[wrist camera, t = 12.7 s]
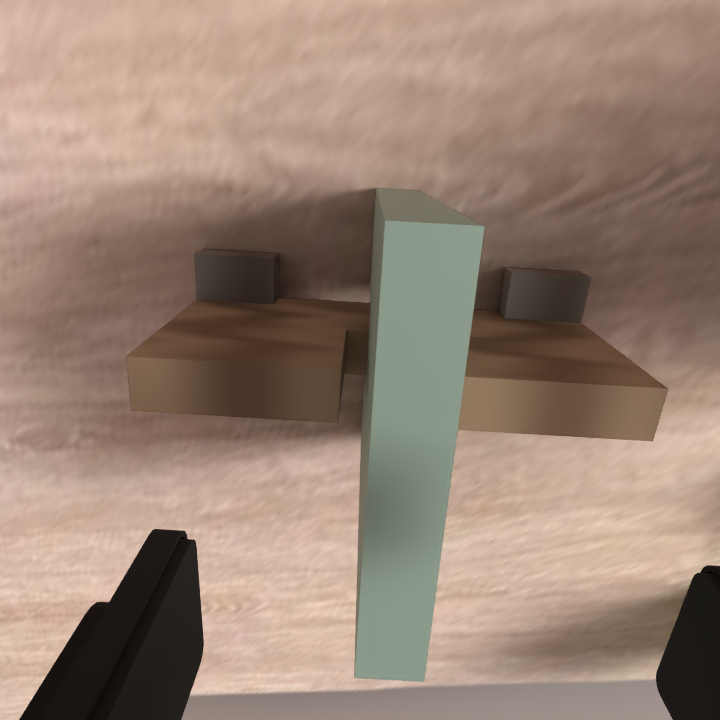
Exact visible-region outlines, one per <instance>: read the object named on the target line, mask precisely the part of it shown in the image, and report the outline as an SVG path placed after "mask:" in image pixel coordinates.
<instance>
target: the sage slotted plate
mask: <svg viewBox="0 0 720 720" xmlns="http://www.w3.org/2000/svg"><path fill="white" fill-rule="evenodd" d="M484 228H485V226H483V225H482V224H480V223H478V222H476V221H474V220H472V219H471V218H469V217H467V216H465V215H463V214H461V213H460V212H458V211H456V210H454V209H452V208H451V207H449V206H447V205H445V204H443V203H441V202H440V201H438V200H436V199H434V198H432V197H430V196H429V195H427V194H425V193H423V192H421V191H419V190H402V189H384V188H376V196H375V212H374V229H373V246H372V262H371V279H370V323H369V340H368V356H367V372H366V375H365V379H364V395H363V412H362V428H361V459H360V494H359V529H358V564H357V600H356V635H355V670H354V678H363V679H382V680H401V681H420V682H424V678H425V671H426V663H427V656H428V648H429V641H430V633H431V626H432V618H433V611H434V603H435V596H436V588H437V581H438V573H439V566H440V558H441V551H442V543H443V536H444V528H445V521H446V513H447V506H448V498H449V491H450V483H451V476H452V468H453V461H454V453H455V445H456V438H457V430H458V423H459V415H460V408H461V400H462V393H463V385H464V378H465V370H466V363H467V355H468V348H469V340H470V333H471V325H472V318H473V310H474V303H475V295H476V288H477V280H478V273H479V265H480V258H481V250H482V243H483V235H484Z"/></svg>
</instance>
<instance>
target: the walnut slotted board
mask: <svg viewBox="0 0 720 720" xmlns="http://www.w3.org/2000/svg"><path fill="white" fill-rule="evenodd" d="M195 270H196V289H197V300H196V301H195V302H194V303H193V304H191V305H190V306H189V307H188V308H186V309H185V310H184V311H183V312H181V313H180V314H179V315H177V316H176V317H175V318H174V319H172V320H171V321H170V322H169V323H167V324H166V325H165V326H164V327H162V328H161V329H160V330H159V331H157V332H156V333H155V334H154V335H152V336H151V337H150V338H149V339H147V340H146V341H145V342H144V343H142V344H141V345H140V346H139V347H137V348H136V349H135V350H134V351H132V352H131V353H130V354H129V355H127V356H126V361H127V371H128V380H129V390H130V399H131V408H132V411H148V412H165V413H182V414H199V415H216V416H233V417H250V418H267V419H284V420H301V421H318V422H335V423H338V421H339V413H340V404H341V396H342V387H343V379H344V374H361V375H366V372H367V356H368V340H369V323H370V303H361V302H344V301H328V300H311V299H294V298H279V253H265V252H248V251H232V250H215V249H202V250H200V251H198V252H196V253H195ZM590 278H591V277H589V276H587V275H585V274H583V273H581V272H578V271H561V270H545V269H528V268H512V267H504V274H503V280H502V287H501V293H500V300H499V306H498V311H494V310H477V309H474V310H473V318H472V325H471V333H470V340H469V348H468V355H467V363H466V370H465V378H464V385H463V393H462V400H461V408H460V415H459V423H458V430H471V431H488V432H505V433H522V434H539V435H556V436H573V437H589V438H606V439H623V440H640V441H653V440H654V436H655V433H656V429H657V426H658V422H659V419H660V415H661V412H662V408H663V405H664V402H665V398H666V395H667V391H668V388H666V387H665V386H664V385H662V384H661V383H660V382H658V381H657V380H656V379H654V378H653V377H652V376H651V375H649V374H648V373H647V372H645V371H644V370H643V369H641V368H640V367H639V366H637V365H636V364H635V363H633V362H632V361H631V360H629V359H628V358H627V357H625V356H624V355H623V354H621V353H620V352H619V351H617V350H616V349H615V348H613V347H612V346H611V345H609V344H608V343H607V342H605V341H604V340H603V339H602V338H600V337H599V336H598V335H596V334H595V333H594V332H592V331H591V330H590V329H588V328H587V327H586V326H584V325H583V324H582V323H581V320H582V316H583V311H584V306H585V302H586V297H587V292H588V288H589V283H590Z"/></svg>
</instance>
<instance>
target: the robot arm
mask: <svg viewBox="0 0 720 720" xmlns="http://www.w3.org/2000/svg"><path fill="white" fill-rule="evenodd" d="M203 646H204V640H203V627H202V614H201V600H200V587H199V574H198V560H197V547H196V542H195V540H190V539H187V534H186V532H185V531H177V530H162V529H154V530H152V532H151V533H150V534H149V536H148V537H147V539H146V541H145V543H144V544H143V546H142V548H141V549H140V551H139V553H138V554H137V556H136V558H135V560H134V561H133V563H132V565H131V566H130V568H129V570H128V571H127V573H126V575H125V576H124V578H123V580H122V582H121V583H120V585H119V587H118V588H117V590H116V592H115V593H114V595H113V597H112V599H111V600H110V602H97V603H95V604H94V605H93V606H91V607H90V609H89V610H88V611H87V613H86V614H85V615H84V617H83V619H82V620H81V622H80V623H79V625H78V627H77V628H76V630H75V631H74V633H73V635H72V636H71V638H70V639H69V641H68V643H67V644H66V646H65V647H64V649H63V651H62V652H61V654H60V655H59V657H58V659H57V660H56V662H55V663H54V665H53V667H52V668H51V670H50V671H49V673H48V675H47V676H46V678H45V679H44V681H43V683H42V684H41V686H40V687H39V689H38V691H37V692H36V694H35V695H34V697H33V699H32V700H31V702H30V703H29V705H28V707H27V708H26V710H25V711H24V713H23V714H22V716H21V718H20V719H19V720H181V719H182V715H183V712H184V710H185V707H186V704H187V701H188V698H189V695H190V692H191V689H192V686H193V683H194V681H195V678H196V675H197V672H198V669H199V666H200V663H201V659H202V654H203ZM656 682H657V687H658V691H659V693H660V696H661V698H662V700H663V702H664V704H665V706H666V707H667V709H668V711H669V713H670V715H671V717H672V719H673V720H720V566H705V567H704V568H703V569H702V571H701V572H700V573H697V574H695V575H694V577H693V579H692V581H691V584H690V586H689V589H688V592H687V594H686V597H685V600H684V602H683V605H682V607H681V610H680V613H679V615H678V618H677V620H676V623H675V626H674V628H673V631H672V634H671V636H670V639H669V641H668V644H667V647H666V649H665V652H664V654H663V657H662V660H661V662H660V665H659V667H658V670H657V674H656Z"/></svg>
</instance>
